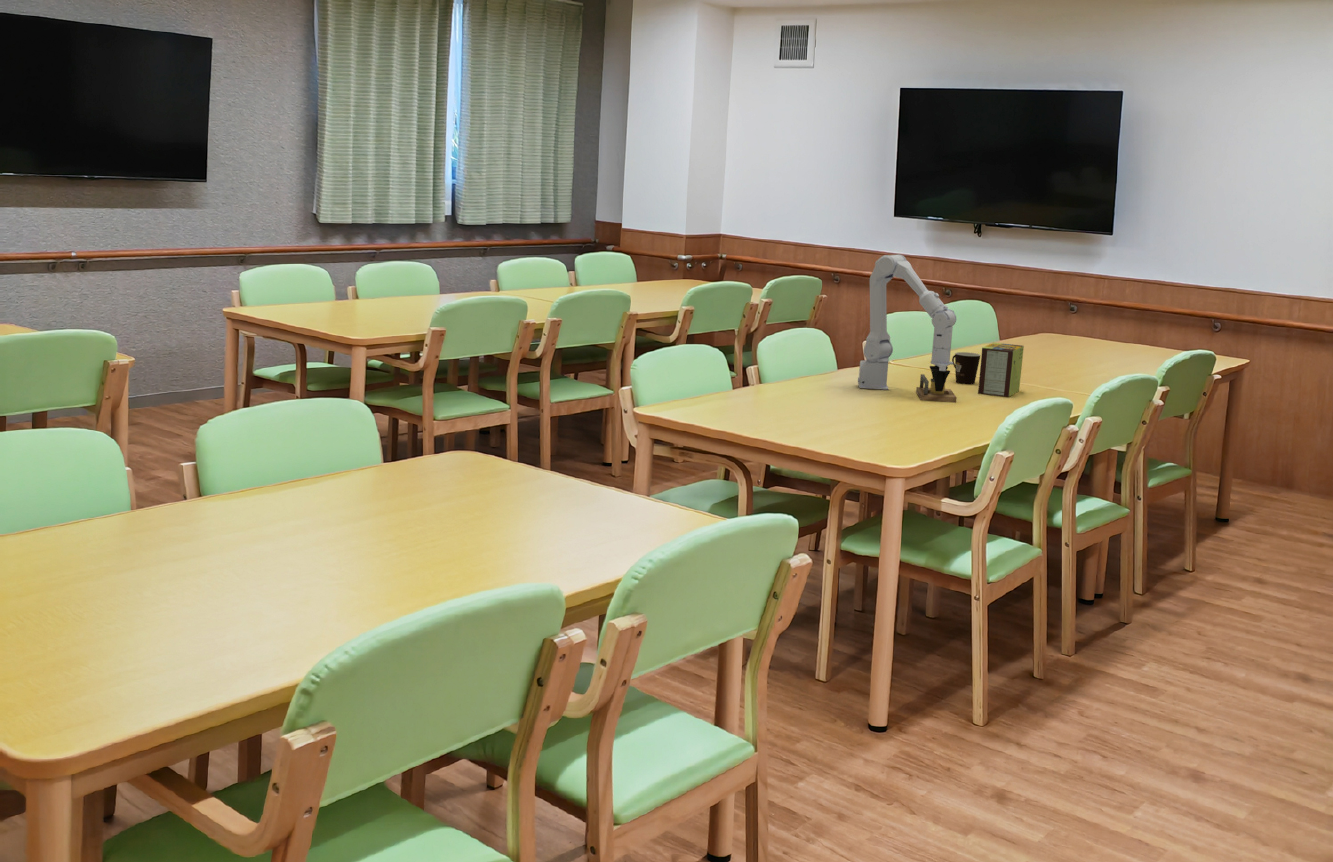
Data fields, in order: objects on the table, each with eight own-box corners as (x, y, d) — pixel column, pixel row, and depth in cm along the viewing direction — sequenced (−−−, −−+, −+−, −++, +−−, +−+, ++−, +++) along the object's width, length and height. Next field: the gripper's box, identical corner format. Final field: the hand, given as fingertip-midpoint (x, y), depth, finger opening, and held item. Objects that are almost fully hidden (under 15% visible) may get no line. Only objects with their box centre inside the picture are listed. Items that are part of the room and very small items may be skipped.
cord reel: (930, 395, 385) (932, 380, 384) (928, 393, 390) (929, 378, 389) (945, 396, 385) (947, 381, 384) (942, 394, 390) (944, 379, 389)
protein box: (1019, 391, 406) (1024, 345, 403) (1009, 397, 393) (1013, 350, 389) (988, 387, 411) (992, 342, 407) (977, 393, 397) (981, 347, 394)
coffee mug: (980, 385, 413) (983, 356, 411) (955, 384, 413) (957, 355, 411) (972, 379, 425) (975, 351, 423) (948, 378, 425) (950, 350, 423)
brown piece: (920, 400, 381) (922, 381, 380) (916, 391, 396) (917, 373, 394) (956, 402, 380) (957, 383, 379) (950, 393, 395) (951, 375, 393)
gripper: (957, 351, 377) (953, 394, 380) (951, 345, 391) (947, 386, 394) (934, 350, 378) (930, 393, 380) (929, 344, 392) (925, 385, 395)
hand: (937, 389), depth 387 cm, fingers closed on cord reel, 5 cm apart
